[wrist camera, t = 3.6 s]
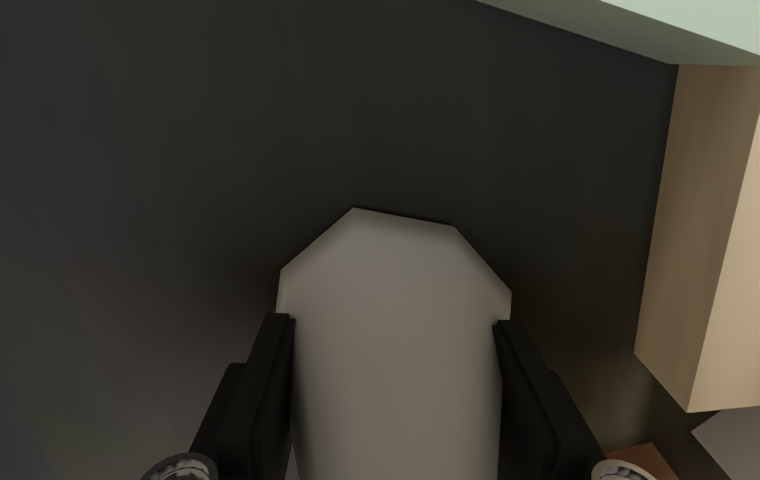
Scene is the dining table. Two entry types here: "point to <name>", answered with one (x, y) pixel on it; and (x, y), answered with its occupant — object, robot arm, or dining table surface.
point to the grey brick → (733, 441)
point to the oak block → (707, 245)
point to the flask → (394, 352)
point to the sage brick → (658, 26)
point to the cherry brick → (645, 460)
